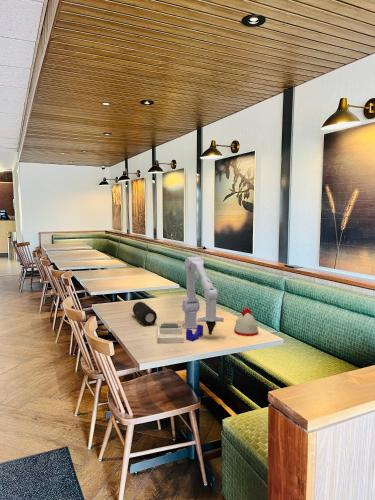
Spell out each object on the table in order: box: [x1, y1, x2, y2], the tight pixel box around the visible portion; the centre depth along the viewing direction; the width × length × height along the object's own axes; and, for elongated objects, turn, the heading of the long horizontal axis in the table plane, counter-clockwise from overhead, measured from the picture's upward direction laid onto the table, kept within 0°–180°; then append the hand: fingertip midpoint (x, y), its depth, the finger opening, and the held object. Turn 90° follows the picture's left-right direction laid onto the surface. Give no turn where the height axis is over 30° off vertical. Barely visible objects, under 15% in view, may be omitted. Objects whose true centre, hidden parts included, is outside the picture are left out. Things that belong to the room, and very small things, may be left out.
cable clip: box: [185, 324, 204, 342], centre depth 204 cm, size 12×4×6 cm, turn 142°
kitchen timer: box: [233, 307, 259, 337], centre depth 214 cm, size 14×14×15 cm
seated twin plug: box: [160, 322, 179, 328], centre depth 212 cm, size 4×10×5 cm, turn 96°
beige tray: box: [157, 324, 185, 344], centre depth 205 cm, size 21×14×3 cm, turn 6°
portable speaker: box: [132, 301, 158, 326], centre depth 234 cm, size 26×10×10 cm, turn 24°
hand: (210, 334), depth 203 cm, fingers closed
